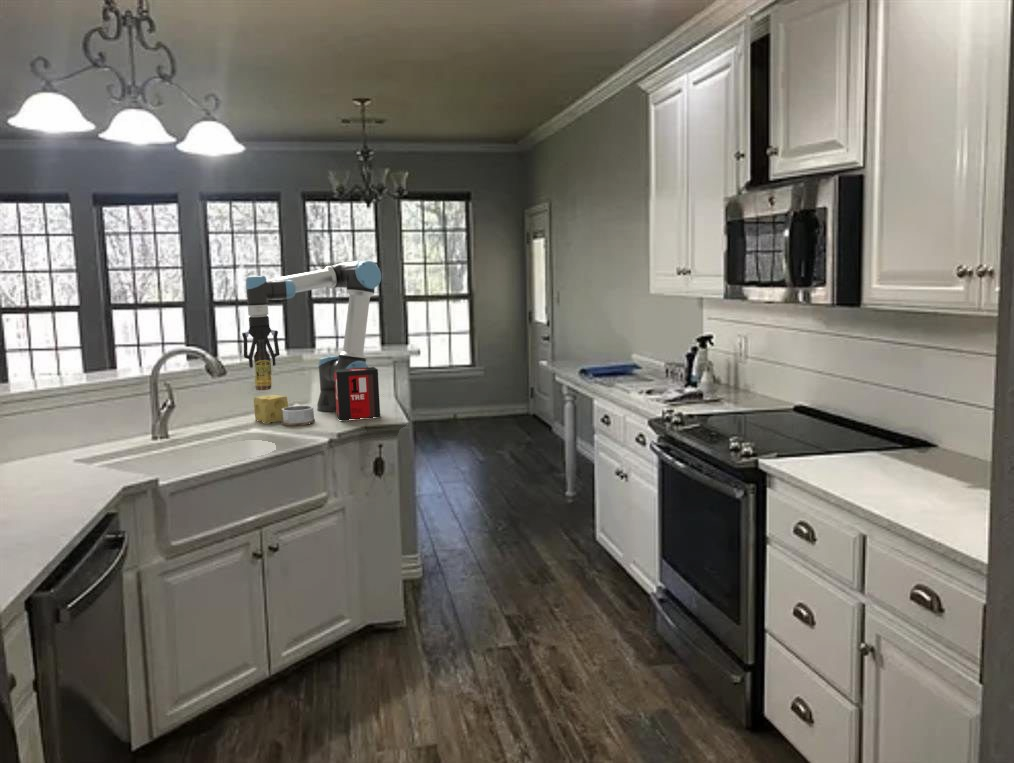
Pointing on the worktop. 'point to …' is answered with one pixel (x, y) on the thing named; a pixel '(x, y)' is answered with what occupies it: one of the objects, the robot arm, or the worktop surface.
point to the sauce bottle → (262, 366)
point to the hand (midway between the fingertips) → (263, 374)
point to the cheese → (269, 408)
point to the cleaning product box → (357, 393)
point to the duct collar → (297, 414)
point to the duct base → (297, 423)
